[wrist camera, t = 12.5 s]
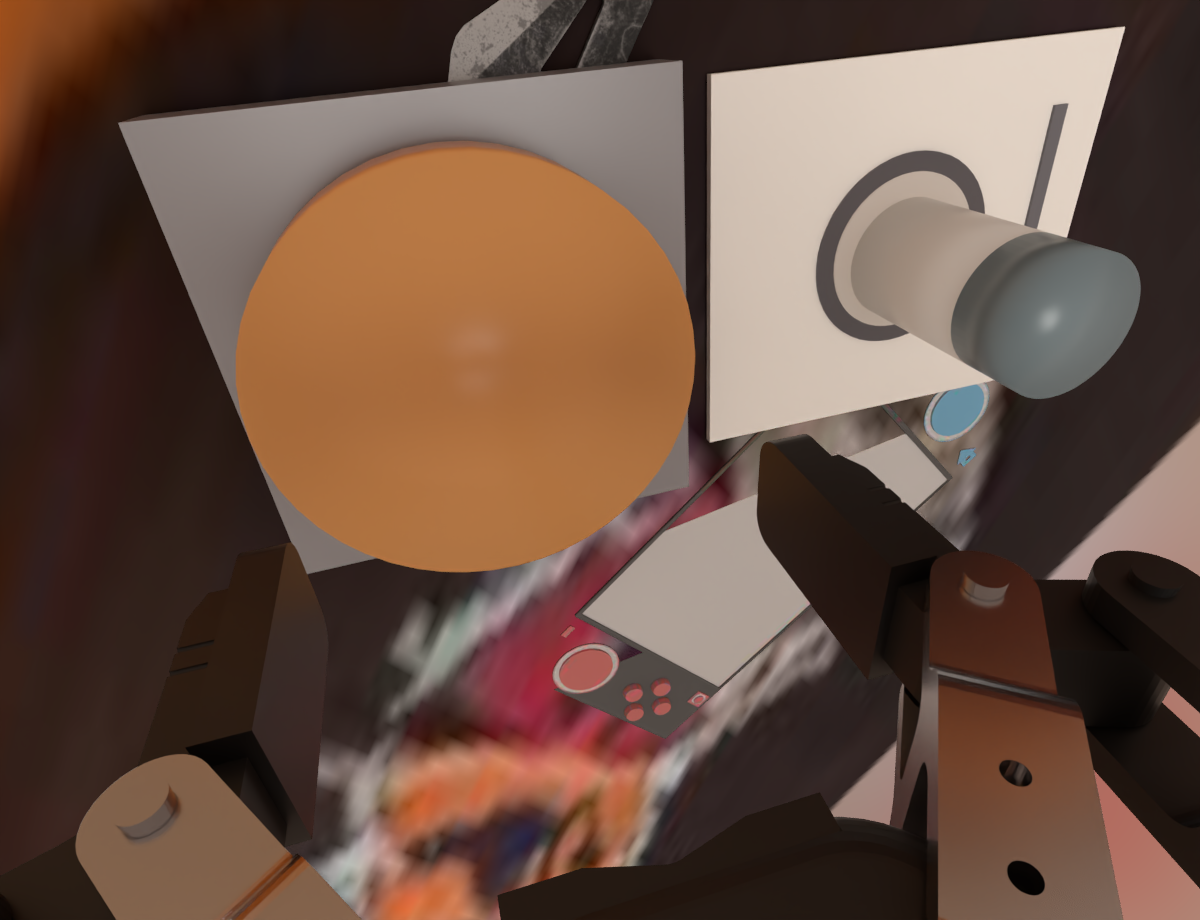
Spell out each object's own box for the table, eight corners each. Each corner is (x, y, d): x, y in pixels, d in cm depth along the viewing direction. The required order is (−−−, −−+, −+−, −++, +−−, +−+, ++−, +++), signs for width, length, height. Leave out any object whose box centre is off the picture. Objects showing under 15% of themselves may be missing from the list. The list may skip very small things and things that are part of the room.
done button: (673, 487, 23) (696, 522, 21) (325, 566, 21) (320, 612, 19) (662, 113, 17) (692, 121, 15) (172, 174, 15) (146, 191, 13)
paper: (1023, 369, 28) (1032, 374, 28) (706, 438, 26) (711, 444, 25) (1116, 27, 22) (1129, 26, 22) (706, 73, 19) (713, 74, 19)
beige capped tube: (942, 305, 25) (1110, 384, 19) (844, 322, 24) (987, 411, 19) (966, 189, 23) (1162, 240, 17) (858, 205, 22) (1026, 263, 16)
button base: (669, 458, 26) (689, 486, 24) (310, 537, 24) (304, 574, 22) (656, 58, 19) (682, 60, 17) (144, 115, 17) (118, 123, 15)
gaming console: (667, 743, 34) (515, 677, 29) (662, 732, 35) (512, 665, 30) (1023, 422, 30) (917, 273, 24) (1011, 414, 30) (905, 268, 25)
